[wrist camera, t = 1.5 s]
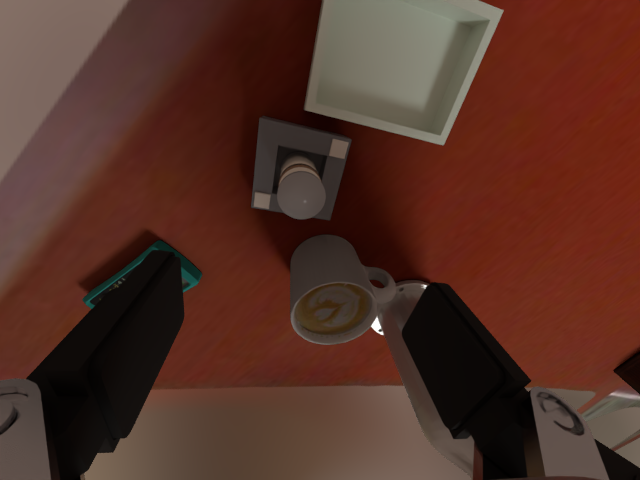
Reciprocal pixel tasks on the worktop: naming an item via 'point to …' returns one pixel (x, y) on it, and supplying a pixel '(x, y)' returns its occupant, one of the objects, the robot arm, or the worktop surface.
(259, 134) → the fuse holder
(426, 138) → the parts tray
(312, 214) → the cylinder
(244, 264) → the worktop surface
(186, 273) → the digital multimeter
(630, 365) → the manual coffee grinder
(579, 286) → the worktop surface
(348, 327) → the coffee mug
